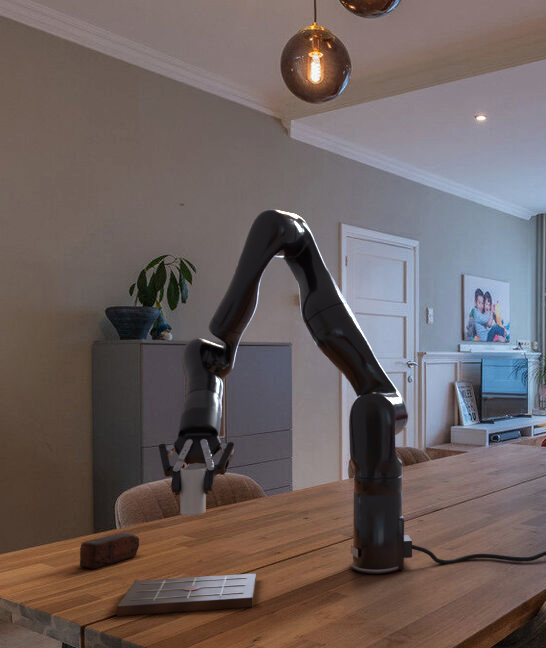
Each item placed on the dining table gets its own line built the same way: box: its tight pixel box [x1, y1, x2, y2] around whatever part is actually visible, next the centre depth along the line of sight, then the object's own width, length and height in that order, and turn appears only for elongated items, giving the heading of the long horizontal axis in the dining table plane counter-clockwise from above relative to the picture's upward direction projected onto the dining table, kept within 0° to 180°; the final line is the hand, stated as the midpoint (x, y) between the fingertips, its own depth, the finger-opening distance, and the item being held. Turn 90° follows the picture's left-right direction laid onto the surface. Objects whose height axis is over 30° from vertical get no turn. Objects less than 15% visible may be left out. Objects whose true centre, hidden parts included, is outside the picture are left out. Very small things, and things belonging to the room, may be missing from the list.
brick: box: [79, 532, 140, 570], centre depth 140 cm, size 11×4×5 cm, turn 157°
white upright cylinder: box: [179, 466, 207, 516], centre depth 132 cm, size 4×4×8 cm
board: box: [116, 573, 257, 617], centre depth 119 cm, size 20×13×2 cm, turn 102°
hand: (191, 491), depth 130 cm, fingers closed on white upright cylinder, 4 cm apart
